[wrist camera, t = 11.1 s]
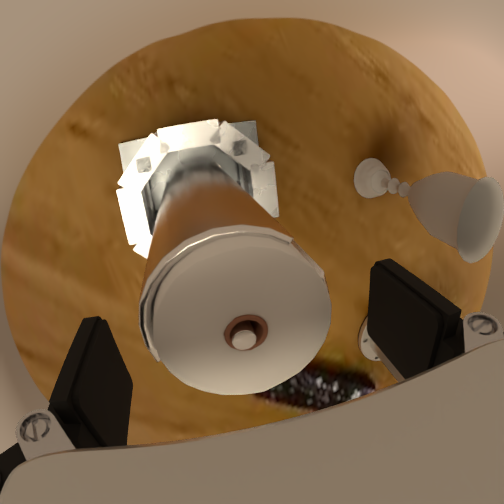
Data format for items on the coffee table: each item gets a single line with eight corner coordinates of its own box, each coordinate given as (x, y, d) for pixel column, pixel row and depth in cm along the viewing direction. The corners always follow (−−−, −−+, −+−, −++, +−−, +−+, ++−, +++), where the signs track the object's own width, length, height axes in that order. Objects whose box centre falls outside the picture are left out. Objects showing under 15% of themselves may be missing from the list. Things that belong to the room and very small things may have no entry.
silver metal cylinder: (158, 166, 30) (98, 275, 8) (220, 149, 31) (334, 210, 8) (175, 225, 33) (179, 426, 10) (234, 209, 34) (345, 376, 11)
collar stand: (252, 116, 31) (274, 112, 24) (265, 231, 36) (288, 258, 29) (119, 138, 29) (101, 142, 22) (143, 254, 34) (136, 288, 27)
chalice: (353, 143, 35) (470, 167, 18) (397, 155, 36) (510, 186, 20) (342, 203, 37) (446, 261, 21) (385, 210, 39) (489, 264, 23)
